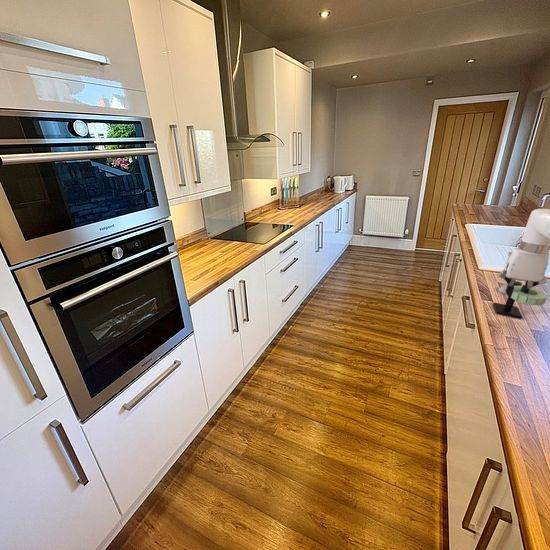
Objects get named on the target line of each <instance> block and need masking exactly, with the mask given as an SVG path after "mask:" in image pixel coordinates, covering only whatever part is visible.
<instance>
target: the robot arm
mask: <svg viewBox="0 0 550 550" xmlns="http://www.w3.org/2000/svg"><path fill="white" fill-rule="evenodd" d="M511 252H512V254H511V256H510V257H509V256H508V257H509V259H508V258H507V260H508V262H507V261H506V262H507V264H506V263H505V266H504V269H503V270H501V271H500V272H499V273H498V277H499V278H501V279H502V280H504V281H505V282H507V283H508V285H507V288H506V291H505V292H506V293H507V294H506V295H507V298H508V297H510V296H511V295H512V292H513V290H514V283H515V281H517V280H521V281H525V283H524V284H522V285H521V286H522V288H521V292H523V293H525V294H528V291H529V289H531V288H534V287H537V286H538V285H545V284H547V280H546V276H545V275H546V272H547V269H548V265H549V260H550V208H536V209H533V210H532V211H531V212H530V214H529V217H528V220H527V223H526V226H525V228H524V231H523V234H522V237H521V239H520V242H519V245H518V246H517V247H515V248H514V249H513V251H511ZM508 277H509V278H508Z"/></svg>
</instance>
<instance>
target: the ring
mask: <svg viewBox="0 0 550 550" xmlns="http://www.w3.org/2000/svg"><path fill="white" fill-rule="evenodd" d="M522 286H523V285H521V286H514V290H513V292H512V295H511V296H510V297H511V298H512V299H514V300H515V302H519V303H522V304H526V305H528V306H529V305H530V306H544V305H545V304H546V302H547V300H548V295H547V293H545V292H544V291H542V290H540V289H538V288H534V287H532V288H531V289H529V291H528V294H525V293H523V292H521V288H522Z"/></svg>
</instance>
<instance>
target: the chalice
mask: <svg viewBox="0 0 550 550" xmlns="http://www.w3.org/2000/svg"><path fill="white" fill-rule="evenodd" d="M512 252H513V251H509V252H508V257H507V260H506V262H505V265H506V264H507V262H508V259H509V257H510V256H511V254H512ZM507 277H508V276H507ZM508 278H509V277H508ZM505 282H506V281H505ZM507 285H508V283H507V282H506V283H505V284H504V285H501V286H500V287H499V288H498V289H497V291H498V292H500V293H502V294H504V295H505V294H506V295H507V293H506V292H505V291H506V288H507Z"/></svg>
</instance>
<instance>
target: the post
mask: <svg viewBox="0 0 550 550" xmlns="http://www.w3.org/2000/svg"><path fill="white" fill-rule="evenodd" d="M514 286H523V283H522V282H521V281H517V280H516V281H515V283H514ZM515 302H516V300H514V299H512V298H511V297H508V296H507V299H506V300H505V303H500V302H493V304H492V306H493V308H494V311H495V313H496V314H497V315H501V316H507V317H511V318H517V319H522V318H523V315H522V313H521V311H520V309H519V308H518V306H516V305H514V304H515Z"/></svg>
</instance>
